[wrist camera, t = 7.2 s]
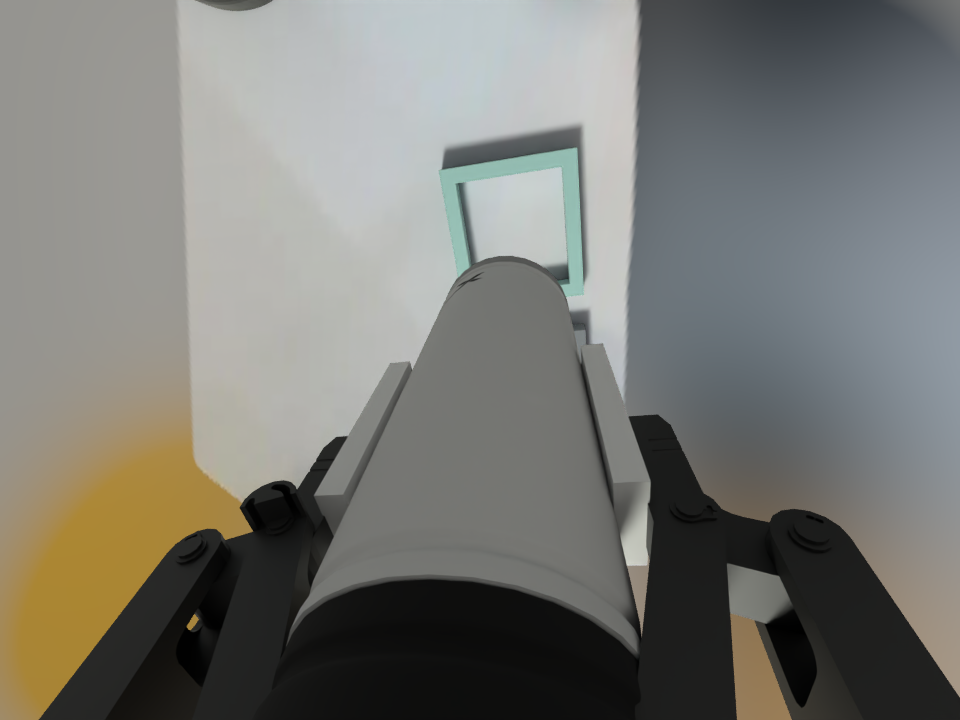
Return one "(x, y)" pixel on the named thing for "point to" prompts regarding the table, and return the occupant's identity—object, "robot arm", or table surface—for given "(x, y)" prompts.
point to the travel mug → (475, 537)
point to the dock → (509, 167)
